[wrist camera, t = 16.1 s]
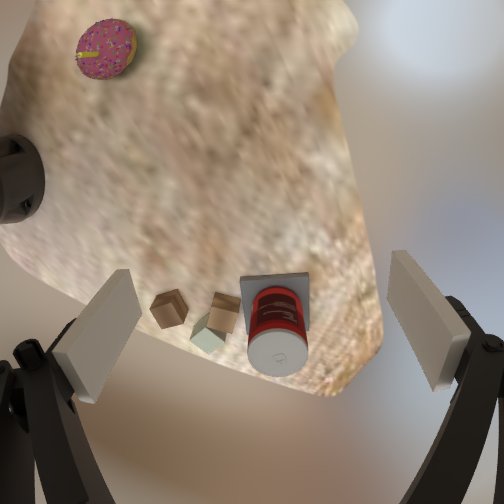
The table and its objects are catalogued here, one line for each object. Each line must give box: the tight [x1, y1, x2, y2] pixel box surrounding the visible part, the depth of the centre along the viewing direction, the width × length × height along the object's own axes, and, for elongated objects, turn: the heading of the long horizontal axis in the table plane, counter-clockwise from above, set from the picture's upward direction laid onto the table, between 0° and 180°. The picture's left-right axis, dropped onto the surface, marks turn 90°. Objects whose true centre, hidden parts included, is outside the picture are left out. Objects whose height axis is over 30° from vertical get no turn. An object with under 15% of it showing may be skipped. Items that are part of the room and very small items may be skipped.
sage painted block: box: [189, 313, 227, 355], centre depth 51 cm, size 4×4×4 cm
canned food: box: [247, 287, 308, 377], centre depth 44 cm, size 8×8×11 cm
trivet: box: [240, 273, 309, 335], centre depth 49 cm, size 10×10×1 cm
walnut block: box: [150, 289, 189, 329], centre depth 49 cm, size 4×4×4 cm
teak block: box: [206, 292, 240, 334], centre depth 49 cm, size 4×4×4 cm
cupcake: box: [75, 19, 137, 80], centre depth 29 cm, size 9×8×12 cm
